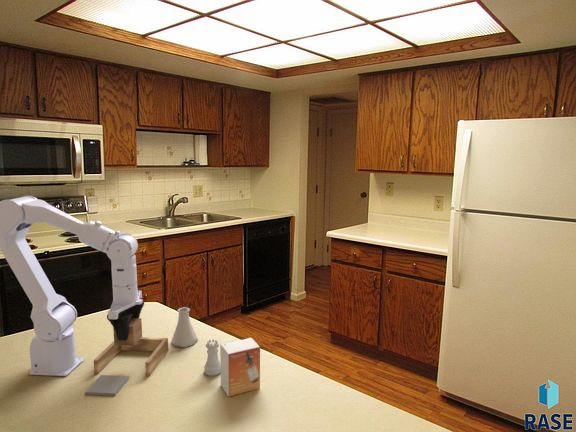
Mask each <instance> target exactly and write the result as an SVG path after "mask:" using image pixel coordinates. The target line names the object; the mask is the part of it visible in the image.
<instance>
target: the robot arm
mask: <svg viewBox="0 0 576 432" xmlns="http://www.w3.org/2000/svg"><path fill="white" fill-rule="evenodd" d="M39 223H46V224H48V225H51V226H53V227H55V228H58V229H61V230H63V231H65V232H69V233H70V234H71V233H72V234H74V235H76V236H77V238H78V240H79V242H80V243H82V244H84V245H86V246H88V247H91V248H93V249H95V250H98V251H99V252H102V253H105V254H106V256H107V258H109V260H110V262H111V280H112V281H111V283H112V298H113V299H112V303H111V305H110V307H109V310H108V311H107V315H106V319H107V320H108V321H109V322H110V325H111V326H112V329H113V328H114V330H115V333H116V335H117V338H118V340H123V341H126V340H127V339H128V331H129V323H130V319H131V318H140V316H141V312H142V309H143V307H144V306H145V301H143V299H142V298H143V294H142V290H138V274H137V273H138V271H137V259H136V258H137V256H136V253H137V251H138V248H139V243H138V239H136V237H135V236H133V235H132V234H131V233H127V232H125V233H121V231H120V230H114V229H111V228H109V227H107V226H104V225H103V222H102V221H100V220H96V221H94V220H90V221H87V222H84V221H82V220H79V219H78V218H76V217H74V216H72V215H70V214H69V213H66V212H64V211H63V210H60V209H58V208H56V207H55V206H53V205H51V204H50V203H48V202H47V201H45V200H43V199H38V198H37V197H34V196H33V195H24V196H21V197H16V198H15V197H14V198H12V199H11V198H10V199H3V200H0V251H1V253H2V255H3V257H4V259H5V260H6V261H7V264H8V265H9V267H10V269H11V270H12V272H13V273H14V275H15V277H16V279H17V281H18V282H19V285H20V286H21V287H22V289H23V291H24V293H25V294H26V296H27V298H28V299H29V301H30V303H31V304H32V310H31V313H30V319H31V321H32V322H33V331H34V334H35V335H34V336H33V338H32V339H31V341H30V345H29V358H30V367H31V371H29V375H30V376H31V375H32V376H53V377H54V376H55V377H57V376H58V377H61V376H62V377H66V376H68V375H69V374H70V373H72V371H74V370H75V369H76V367H78V365H80V364H82V362H83V361H84V360H85V359H84V358H83V357H77V354H76V340H75V329H74V322H76V320H77V317H78V312H77V309H76V308H75V306H74V305H72V304H71V303H70V302H68V300H67V298H66V297H65V296H63V295H61V294H58V293H56V291H55V289H54V287H53V285H52V284H51V282H50V280H49V278H48V277H47V275H46V273H45V271H44V270H43V268H42V266H41V264H40V263H39V261H38V259H37V257H36V256H35V254H34V252H33V250H32V249H31V246H30V245H29V244H28V241H27V239H26V237H27V234H28V232H29V230H30V228H31V226H32V225H33V224H39Z"/></svg>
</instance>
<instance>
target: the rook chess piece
mask: <svg viewBox="0 0 576 432" xmlns="http://www.w3.org/2000/svg"><path fill="white" fill-rule="evenodd" d="M219 347H220V344H219V343H218V340H216V339H212V340H211V339H209V340H208V341H207V342H206V345H205V348H206V349H207V351H206V353H207V359H206V362H205V364H204V366H203V368H204V370H203V371H204V373H205V375H207V376H209V377H215V376H218V375H220V374H221V360H219V355H218V354H219V353H218V352H219Z"/></svg>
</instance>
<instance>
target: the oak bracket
mask: <svg viewBox="0 0 576 432" xmlns="http://www.w3.org/2000/svg"><path fill="white" fill-rule="evenodd" d="M121 351H136V352H137V351H141V352H152V353H151V355H149V357H148V358H147V359H146V360H145V363H144V364H145V365H144V367H145V376H146V377H147V376H148V377H150V376H151V375H152V373H154V371H155V369H156V368H157V367H158V365H159V364H160V362H161V361H162V360H163V358H164V356H165V355H166V354H167V353H168V351H169V338H168V337H143V336H142V337H141V338H140V339H139V341H138V342H137V343H136V344H135V345H134V346H132V345H114V340H113V341H112V342H111V343H110V344H109V345H108V346H107V347H105V349H104V350H102V352H100V354H99V355H97V357H95V358H94V359H93V369H94V370H93V371H94V374H95V375H96V374H97V375H98V374H100V372H101V371H103V370H104V369H105V367H106V366H107V365H108V364H110V362H111V361H112V360H113V359H114V358H115V357H116V356H117V355H118V354H119V353H121Z"/></svg>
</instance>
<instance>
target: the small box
mask: <svg viewBox="0 0 576 432" xmlns="http://www.w3.org/2000/svg"><path fill="white" fill-rule="evenodd" d="M219 347H220V351H219V352H220V355H219V356H220V363H221V372H220V386H221V387H222V389H223V390H224V392H225V394H226V396H227V397H228V398H229V397H233V396H236V395H240V394H243V393H247V392H250V391H254V390H258V389H260V388H261V347H260V346H259V344H258V343H257V342H256V341H255V340H254V339H253V338H252V337H248V338H245V339H239V340H236V341H231V342H226V343H220V344H219Z"/></svg>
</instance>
